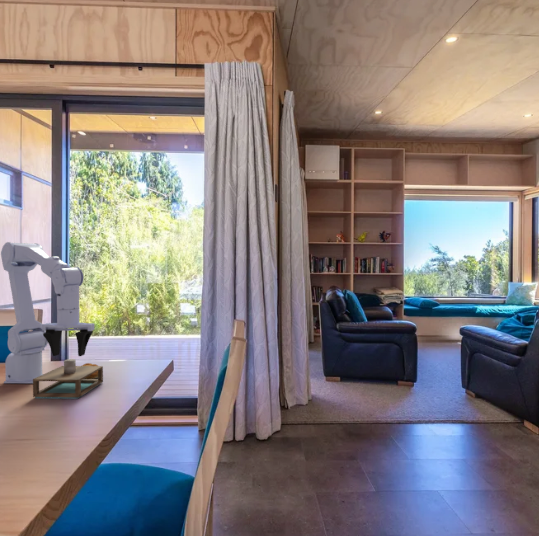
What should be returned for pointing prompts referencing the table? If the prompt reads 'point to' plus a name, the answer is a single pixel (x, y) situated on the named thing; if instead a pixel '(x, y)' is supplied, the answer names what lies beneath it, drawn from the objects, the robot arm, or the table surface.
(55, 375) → the cover
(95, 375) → the pastry
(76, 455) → the table surface
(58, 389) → the mat
